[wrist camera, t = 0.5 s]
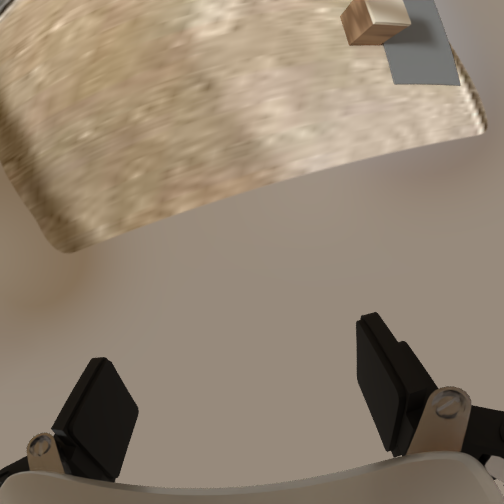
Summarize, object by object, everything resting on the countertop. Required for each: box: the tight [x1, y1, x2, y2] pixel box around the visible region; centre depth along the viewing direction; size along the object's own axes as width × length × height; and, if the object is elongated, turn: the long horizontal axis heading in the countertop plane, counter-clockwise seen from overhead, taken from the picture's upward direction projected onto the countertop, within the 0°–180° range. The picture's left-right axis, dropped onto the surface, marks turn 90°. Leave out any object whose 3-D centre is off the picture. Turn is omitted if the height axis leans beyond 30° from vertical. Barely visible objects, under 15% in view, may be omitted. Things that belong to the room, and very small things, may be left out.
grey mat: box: [383, 0, 460, 86], centre depth 29 cm, size 16×12×1 cm
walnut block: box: [340, 0, 411, 46], centre depth 25 cm, size 4×4×9 cm
